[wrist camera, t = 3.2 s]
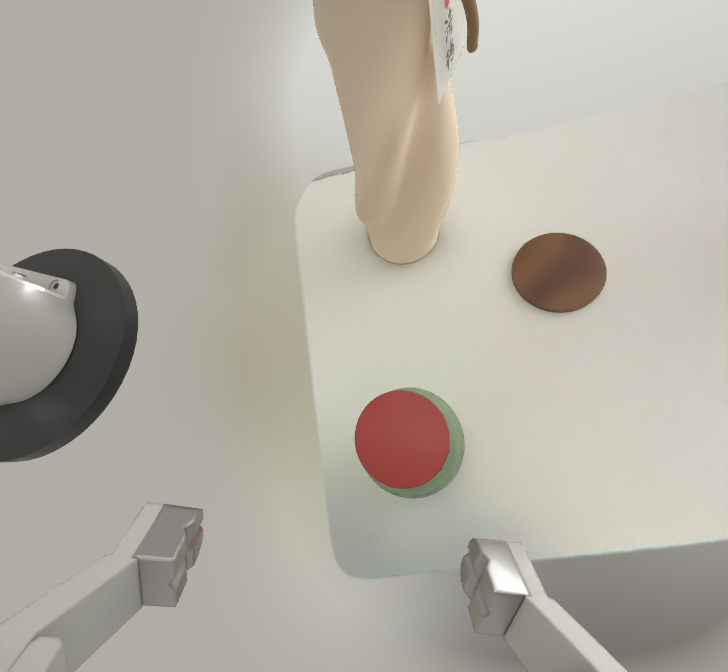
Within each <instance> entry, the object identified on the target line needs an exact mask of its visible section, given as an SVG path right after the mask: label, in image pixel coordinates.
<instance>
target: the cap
mask: <svg viewBox="0 0 728 672" xmlns="http://www.w3.org/2000/svg"><path fill="white" fill-rule="evenodd" d="M449 434H450V432H449V431H448V427H447V423H446V421H445V419H444V417H443V413H441V412H440V410H439V409H438V408H437V406H436V405H435V404H433V403H432V402H431V400H429V399H427V398H426V397H424V396H422V395H420V394H418V393H415V392H411V391H405V390H397V391H391V392H387V393H384V394H382V395H380V396H378V397H376V398H375V399H374V400H372V401H371V402H370V403H369V404H368V405H367V406H366V407H365V409H364V410H363V412H362V413H361V415H360V417H359V419H358V422H357V426H356V431H355V446H356V451H357V454H358V457H359V459H360V461H361V463H362V465H363V467H364V468H365V469H366V471H367V472H368V473H369V474H370V475H371V476H372V477H373V478H374V479H376V480H377V481H379V482H380V483H382V484H384V485H387V486H389V487H394V488H401V489H406V488H407V489H410V488H413V487H417V486H420V485H422V484H424V483H428V481H429V480H431V479H432V478H433V477H434V476H435V475H436V474H437V473H438V472H439V471H441V470H442V466H443V464H444V463H445V461H446V458H447V455H448V453H449V452H450V451H449V443H450V440H449Z"/></svg>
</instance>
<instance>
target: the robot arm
mask: <svg viewBox="0 0 728 672" xmlns="http://www.w3.org/2000/svg"><path fill="white" fill-rule="evenodd" d="M75 295H76V284H75V283H74V282H71V281H69V280H66V279H62V278H58V277H54V276H50V275H46V274H42V273H38V272H34V271H30V270H26V269H21V268H17V267H13V266H9V265H5V264H1V263H0V406H2V405H6V404H12V403H18V402H21V401H24V400H27V399H29V398H31V397H33V396H34V395H36V394H38V393H39V392H40V391H42V390H43V389H44V388H46V387H47V386H48V385H49V384H50V383H51V382H52V381H53V380H54V379H55V378H56V376H57V375H58V374H59V373H60V371H61V370H62V368H63V367H64V365H65V364H66V362H67V360H68V358H69V356H70V354H71V351H72V349H73V346H74V342H75V338H76V332H77V320H76V315H75V310H74V300H75ZM202 519H203V510H202V509H197V508H190V507H183V506H175V505H168V504H159V503H151V502H149V503H147V504H146V505H145V506H144V507H143V508H142V509H141V511H140V512H139V514H138V515H137V517H136V518H135V519H134V521H133V523H132V524H131V525H130V527H129V528H128V530H127V531H126V533H125V534H124V536H123V537H122V539H121V540H120V542H119V543H118V545H117V546H116V548H115V549H114V551H113V552H112V553H111V555H110V556H106V555H104V556H102V557H101V558H99V559H98V560H96V561H95V562H93V563H92V564H90V565H89V566H87V567H86V568H84V569H83V570H81V571H80V572H78V573H76V574H75V575H73V576H72V577H70V578H69V579H67V580H66V581H64V582H63V583H61V584H60V585H58V586H57V587H55V588H54V589H52V590H51V591H49V592H48V593H46V594H45V595H43V596H41V597H40V598H38V599H37V600H35V601H34V602H32V603H31V604H29V605H28V606H26V607H25V608H23V609H22V610H20V611H19V612H17V613H16V614H14V615H12V616H11V617H9V618H8V619H6V620H5V621H3V622H2V623H0V672H74V671H75V670H76V669H77V668H78V667H79V666H81V664H83V663H84V662H85V661H86V660H87V659H88V658H89V657H90V656H91V655H92V654H93V653H94V652H95V651H96V650H97V649H99V647H101V646H102V645H103V644H104V643H105V642H106V641H107V640H108V639H109V638H110V637H111V636H112V635H113V634H114V633H116V632H117V631H118V630H119V629H120V628H121V627H122V626H123V625H124V624H125V623H126V622H127V621H128V620H129V619H130V618H131V617H132V616H134V615H135V613H137V612H138V611H139V610H140V609H141V608H142V605H145V606H164V607H176V605H177V603H178V601H179V598H180V596H181V594H182V592H183V589H184V587H185V585H186V582H187V570H189V569H190V568H191V567H192V566H194V564H195V561H196V559H197V556H198V554H199V550H200V547H201V544H202V537H203V528H202V527H201V526H200V524H201V522H202ZM468 548H469V553H468V554H466V555H465V556H464V557H463V560H462V563H461V582H462V586H463V590H464V592H465V593H466V594H467V595H468V597H469V598H470V599H471V601H470V604H469V606H468V609H469V612H470V616H471V620H472V623H473V627H474V630H475V633H481V634H488V635H497V636H504V639H505V641H506V642H507V644H508V645H509V647H510V648H511V649H512V651H513V652H514V653H515V655H516V656H517V658H518V659H519V660H520V662H521V663H522V665H523V666H524V668H525V669H526V670H527V672H628V671H627V670H626V669H625V668H623V667H622V666H621V665H620V664H619V663H618V662H617V661H616V660H615V659H614V658H613V657H612V656H611V655H610V654H609V653H608V652H607V651H606V650H605V649H604V648H603V647H602V646H601V645H600V644H599V643H598V642H597V641H596V640H595V639H594V638H593V637H592V636H591V635H589V633H587V631H586V630H584V628H582V626H580V625H579V624H578V623H577V622H576V621H575V620H574V619H573V618H572V617H571V616H570V615H569V614H568V613H567V612H566V611H565V610H564V609H563V608H562V607H561V606H560V605H559V604H558V603H557V602H556V601H555V600H554V599H552V598H548V597H547V595H546V592H545V590H544V588H543V586H542V584H541V582H540V580H539V578H538V576H537V574H536V572H535V570H534V568H533V565H532V563H531V561H530V559H529V557H528V555H527V553H526V551H525V549H524V547H523V546H522V545H521V544H520V543H514V542H503V541H498V540H487V539H477V538H473V539H472V540H470V542H469V545H468Z"/></svg>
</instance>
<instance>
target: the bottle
mask: <svg viewBox="0 0 728 672" xmlns="http://www.w3.org/2000/svg"><path fill="white" fill-rule="evenodd" d="M397 390H405V391H411V392H415V393H418V394H420V395H422V396H424V397H426V398H427V399H429V400H431V402H432V403H433V404H435V405H436V406H437V408H438V409H439V410H440V412H441V413H443V417H444V419H445V421H446V423H447V427H448V431H449V432H450V434H449V440H450V443H449V451H450V452H449V453H448V455H447V458H446V461H445V463H444V464H443V466H442V470H441V471H439V472H438V473H437V474H436V475H435V476H434V477H433V478H432V479H431V480H429V481H428V483H424V484H422V485H420V486H417V487H413V488H410V489H407V488H406V489H401V488H394V487H389V486H387V485H384V484H382V483H380V482H379V481H377V480H376V479H374V478H373V477H372V476H371V475H370V474H369V473H368V472H367V473H368V474H369V476H370V477H371V478H372V479H373V481H374V482H375V483H377V484H378V485H379V486H380V487H381V488H383V489H384V490H386V491H388V492H390V493H392V494H394V495H397V496H400V497H405V498H421V497H425V496H429V495H432V494H434V493H436V492H438V491H440V490H441V489H443V488H444V487H445V486H446V485H448V483H449V482H450V481H451V480H452V479H453V478H454V476H455V475H456V473H457V472H458V470H459V468H460V465H461V462H462V459H463V454H464V436H463V430H462V427H461V424H460V422H459V420H458V418H457V416H456V414H455V413H454V411H453V410H452V409H451V407H450V406H449V405H448V404H447V403H446V402H445V401H444V400H442V399H441V398H440V397H438V396H437V395H435V394H433V393H431V392H428V391H426V390H422V389H417V388H401V389H396V390H393V391H397ZM390 392H391V391H390ZM365 470H366V469H365Z"/></svg>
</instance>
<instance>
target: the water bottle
mask: <svg viewBox="0 0 728 672" xmlns="http://www.w3.org/2000/svg"><path fill="white" fill-rule="evenodd" d="M313 7H314V17H315V24H316V29H317V33H318V36H319V39H320V41H321V43H322V46H323V48H324V50H325V53H326V55H327V57H328V60H329V63H330V65H331V69H332V73H333V78H334V82H335V86H336V90H337V94H338V98H339V102H340V106H341V110H342V113H343V118H344V123H345V127H346V132H347V136H348V141H349V145H350V149H351V154H352V158H353V163H354V168H355V178H356V182H355V209H356V213H357V216H358V217H359V219H360V220H361V221H362V222H363V224H364V225H365V226H366V228H367V230H368V233H369V236H370V241H371V245H372V247H373V249H374V250H375V252H376V253H377V254H378V255H379V256H380V257H382V258H383V259H385V260H387V261H389V262H392V263H397V264H406V263H411V262H414V261H417V260H419V259H421V258H422V257H424V256H425V255H427V254H428V253H429V252H430V251H431V250H432V248H433V247H434V245H435V244H436V241H437V239H438V234H439V226H440V224H441V222H442V220H443V218H444V215H445V213H446V210H447V208H448V205H449V202H450V199H451V195H452V192H453V188H454V183H455V178H456V173H457V165H458V155H459V134H458V123H457V115H456V109H455V103H454V97H453V92H452V87H451V82H450V78H451V76H452V73H453V71H454V69H455V66H456V64H457V62H458V59H459V57H460V54H461V52H462V50H463V48H464V10H465V14H466V20H467V50H468V52H470V53H472V52H474V51H475V50H476V49H477V46H478V33H479V18H478V11H477V5H476V0H313ZM463 9H464V10H463Z"/></svg>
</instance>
